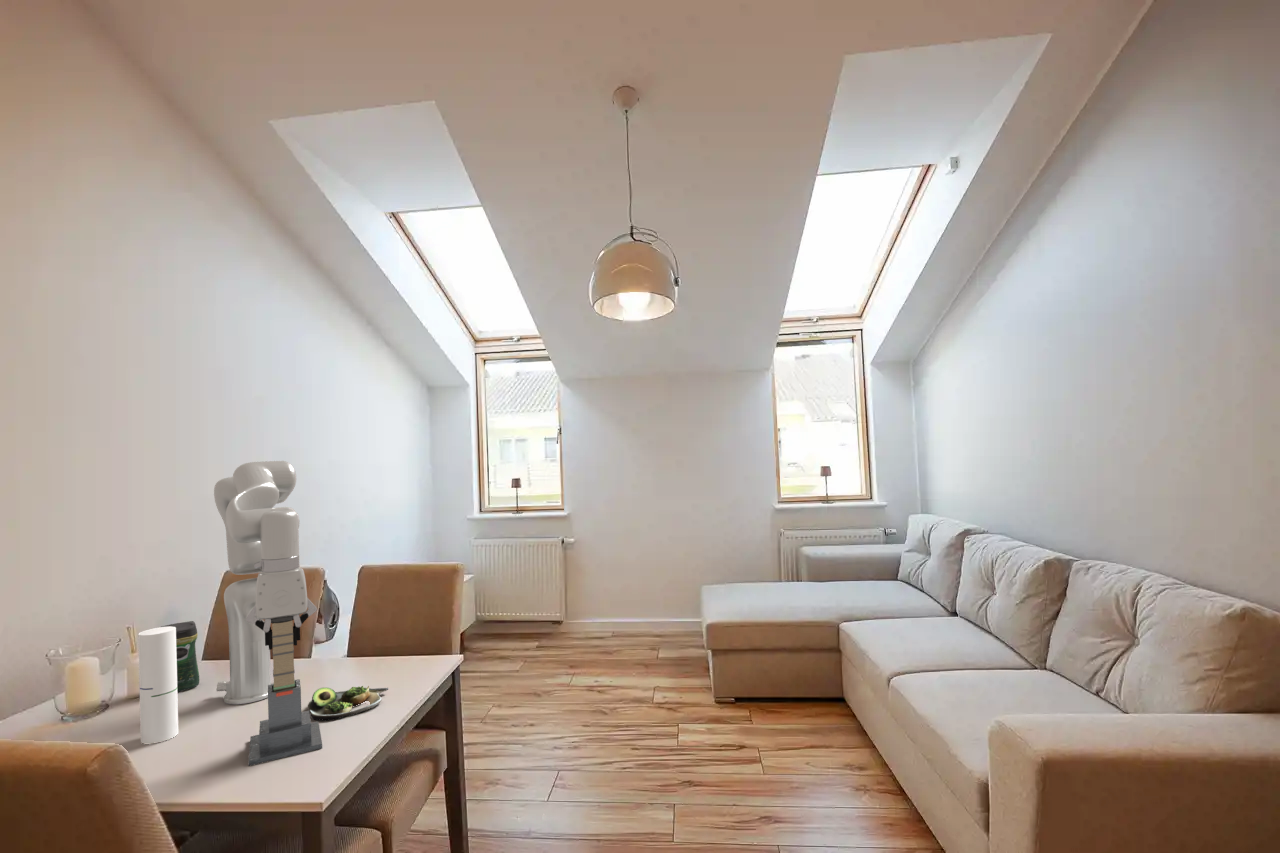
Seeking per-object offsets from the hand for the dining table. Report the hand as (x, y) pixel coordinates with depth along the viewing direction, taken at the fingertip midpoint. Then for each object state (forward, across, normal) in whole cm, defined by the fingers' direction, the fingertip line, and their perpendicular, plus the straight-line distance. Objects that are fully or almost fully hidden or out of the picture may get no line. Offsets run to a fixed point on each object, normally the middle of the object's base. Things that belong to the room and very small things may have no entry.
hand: (283, 645), depth 147 cm
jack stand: (+22, 0, 0) cm, 22 cm away
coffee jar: (+23, -26, +59) cm, 68 cm away
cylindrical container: (+23, -26, +22) cm, 41 cm away
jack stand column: (+15, 0, 0) cm, 15 cm away
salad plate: (+23, +13, +17) cm, 31 cm away
